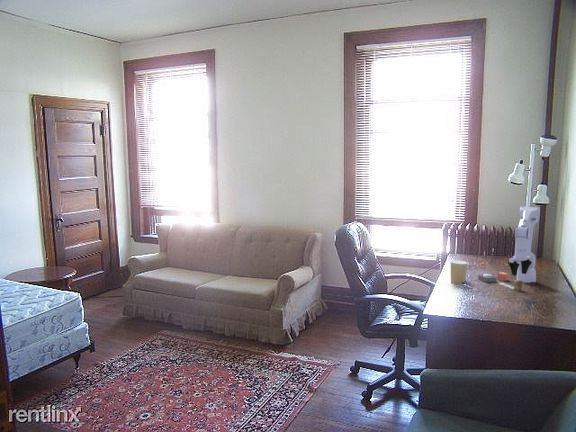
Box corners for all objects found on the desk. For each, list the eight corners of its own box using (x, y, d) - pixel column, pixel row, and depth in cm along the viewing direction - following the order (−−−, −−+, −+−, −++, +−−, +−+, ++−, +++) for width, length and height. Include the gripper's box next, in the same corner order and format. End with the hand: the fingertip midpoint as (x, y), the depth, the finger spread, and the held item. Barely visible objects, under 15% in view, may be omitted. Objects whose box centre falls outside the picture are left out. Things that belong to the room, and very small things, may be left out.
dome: (488, 278, 261) (488, 273, 260) (493, 280, 256) (494, 275, 256) (480, 279, 259) (481, 274, 259) (486, 281, 255) (486, 276, 254)
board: (502, 279, 264) (502, 273, 264) (534, 292, 240) (535, 285, 240) (474, 281, 260) (474, 275, 259) (504, 294, 236) (504, 287, 235)
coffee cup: (465, 280, 262) (466, 260, 260) (467, 285, 253) (468, 264, 251) (448, 279, 264) (449, 259, 263) (449, 284, 255) (451, 263, 254)
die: (501, 278, 262) (502, 271, 262) (508, 280, 259) (508, 273, 258) (497, 279, 260) (497, 272, 260) (503, 281, 257) (504, 274, 256)
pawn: (517, 288, 243) (517, 279, 242) (523, 290, 239) (524, 281, 238) (512, 289, 241) (512, 280, 240) (518, 291, 238) (519, 282, 237)
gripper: (523, 246, 244) (521, 271, 245) (504, 249, 238) (503, 274, 239) (535, 249, 237) (533, 274, 239) (516, 251, 231) (514, 277, 233)
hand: (519, 274), depth 239 cm, fingers open, 7 cm apart
